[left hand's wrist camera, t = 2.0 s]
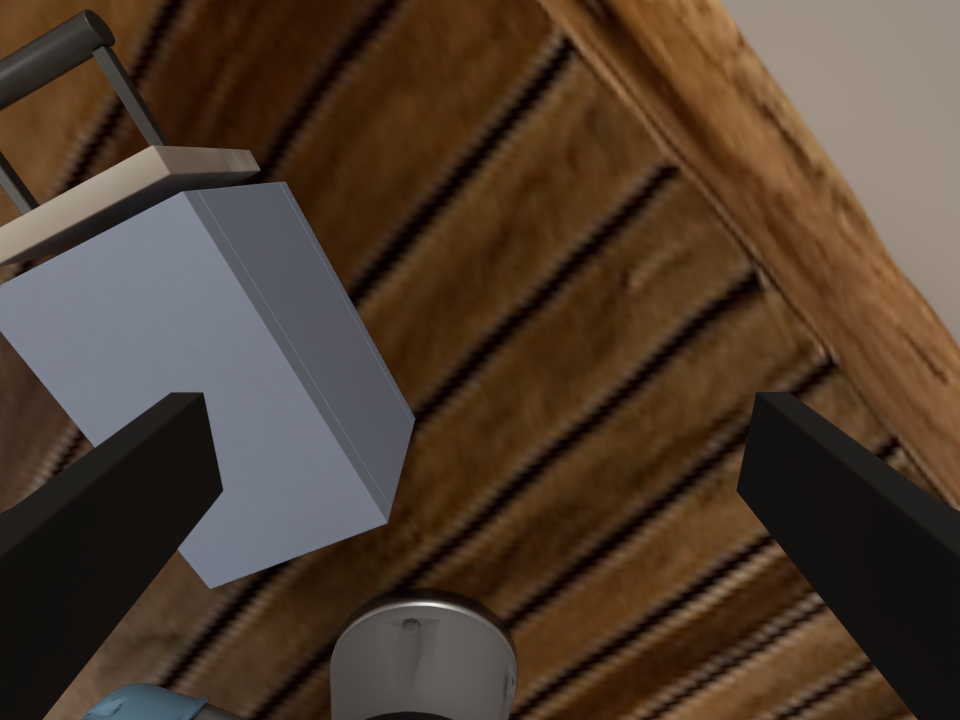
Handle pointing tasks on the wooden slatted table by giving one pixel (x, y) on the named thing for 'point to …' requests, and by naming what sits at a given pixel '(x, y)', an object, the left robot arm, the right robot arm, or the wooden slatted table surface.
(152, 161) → the drawer
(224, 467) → the cabinet
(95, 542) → the left robot arm
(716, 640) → the wooden slatted table surface
